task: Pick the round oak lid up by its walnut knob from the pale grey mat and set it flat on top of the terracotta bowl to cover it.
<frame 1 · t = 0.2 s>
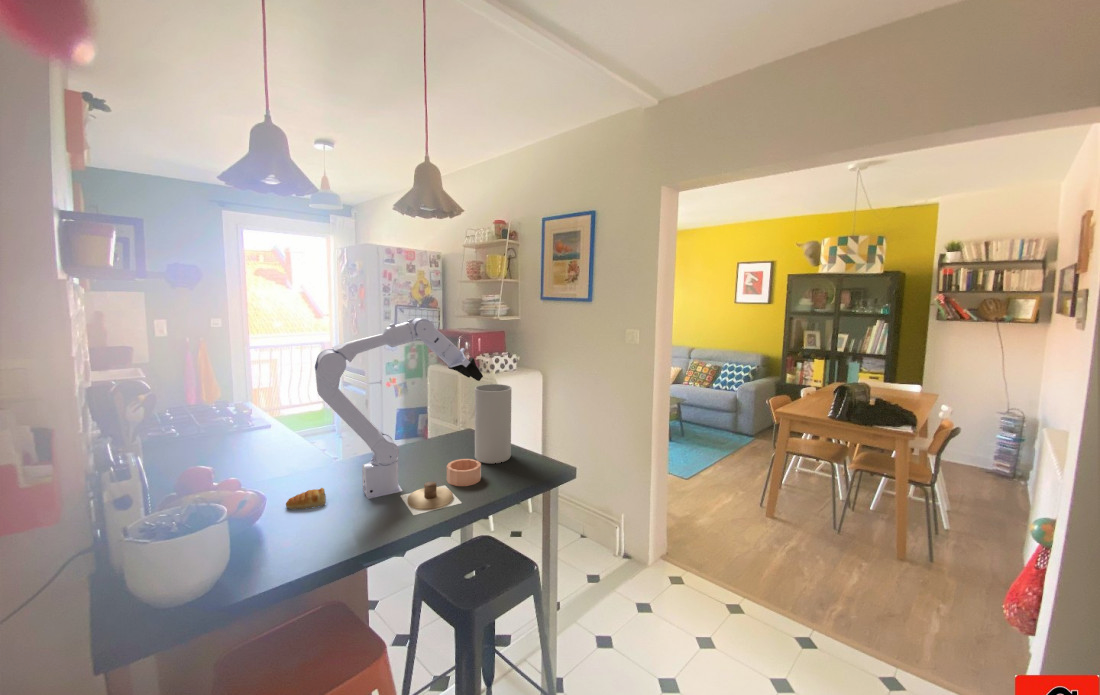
hand: (475, 376, 136), 31 cm above the kitchen counter, tool tilted 45°, fingers open, 7 cm apart
mat: (430, 501, 120), on the kitchen counter
pastry: (309, 505, 117), on the kitchen counter
cylinder vase: (492, 458, 153), on the kitchen counter
lid: (430, 499, 119), point 1 cm above the kitchen counter, touching mat
bowl: (464, 480, 133), on the kitchen counter
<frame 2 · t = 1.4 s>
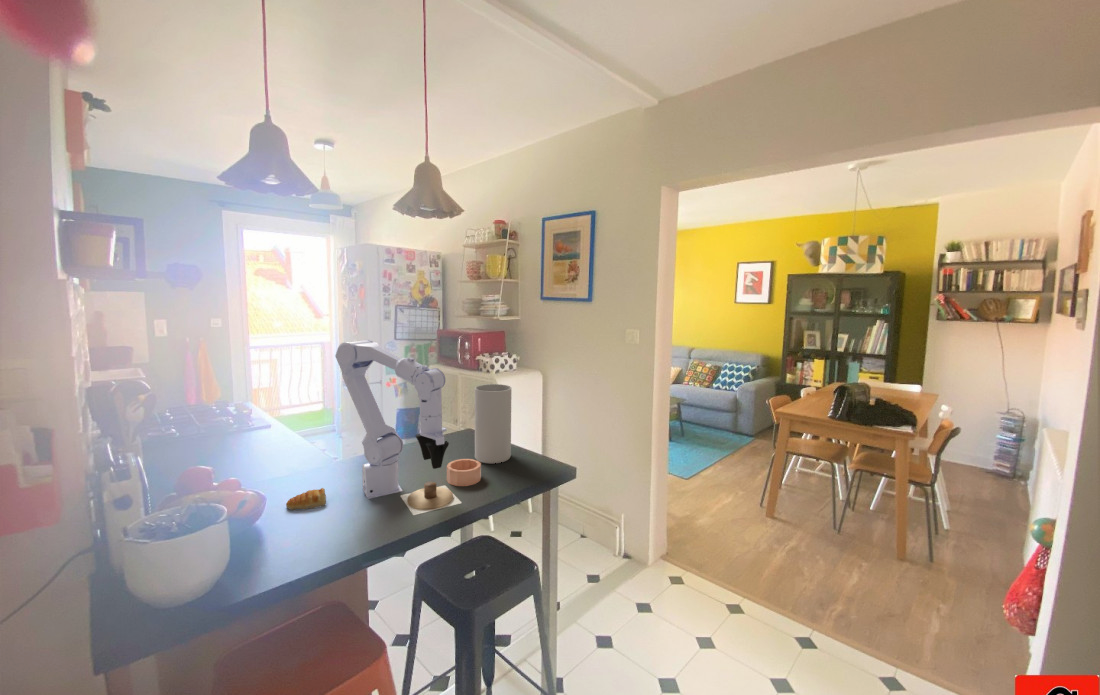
hand: (432, 463, 119), 11 cm above the kitchen counter, tool pointing down, fingers open, 7 cm apart
nothing on the kitchen counter moved.
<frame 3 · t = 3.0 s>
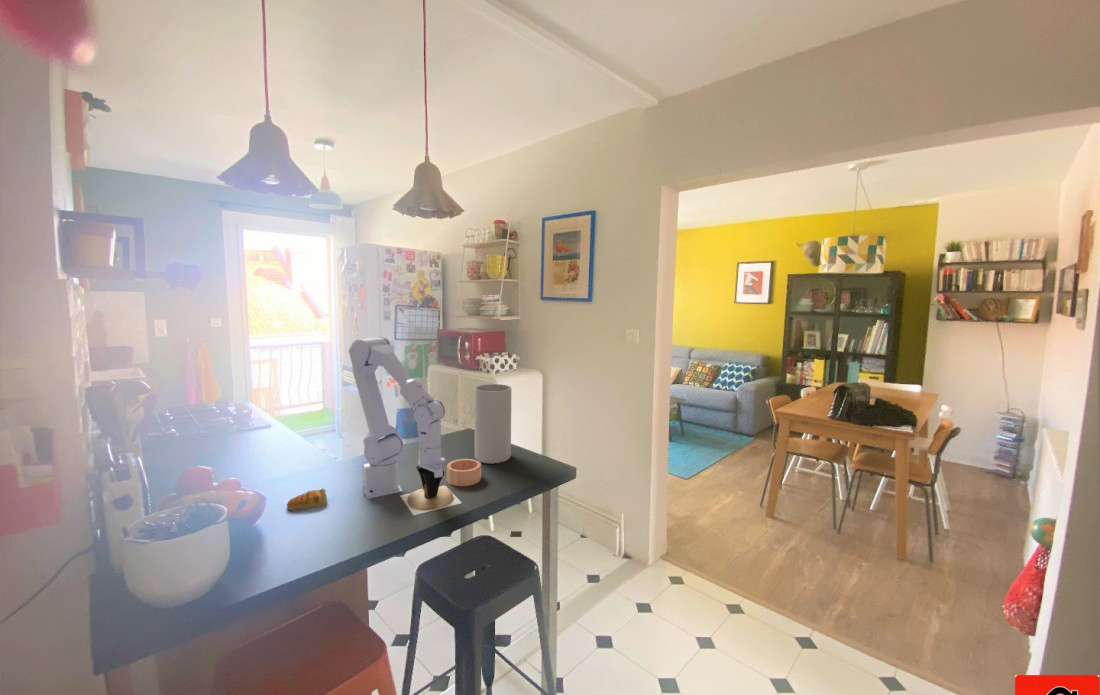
hand: (430, 493, 119), 2 cm above the kitchen counter, tool pointing down, fingers closed on lid, 3 cm apart
lid: (430, 499, 119), point 1 cm above the kitchen counter, touching gripper, mat
when the fingers open (8 cm above the kitchen counter, at t = 5.9 s): lid drops 1 cm, resting on bowl.
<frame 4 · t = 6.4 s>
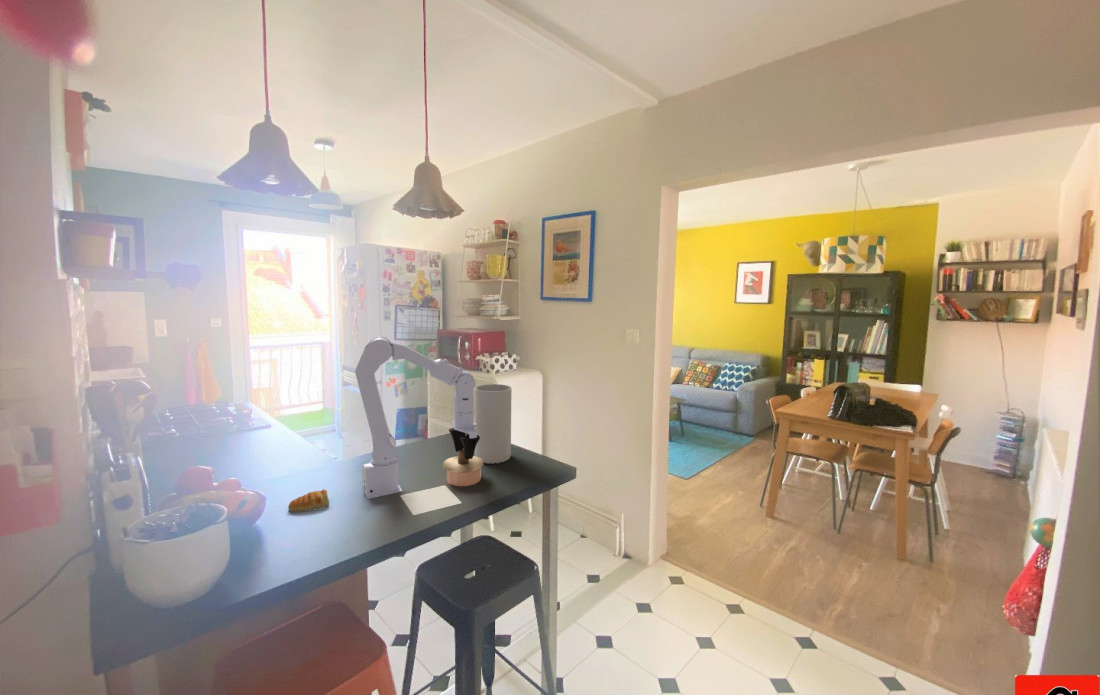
hand: (464, 454, 132), 8 cm above the kitchen counter, tool pointing down, fingers open, 7 cm apart
lid: (463, 465, 133), point 5 cm above the kitchen counter, touching bowl
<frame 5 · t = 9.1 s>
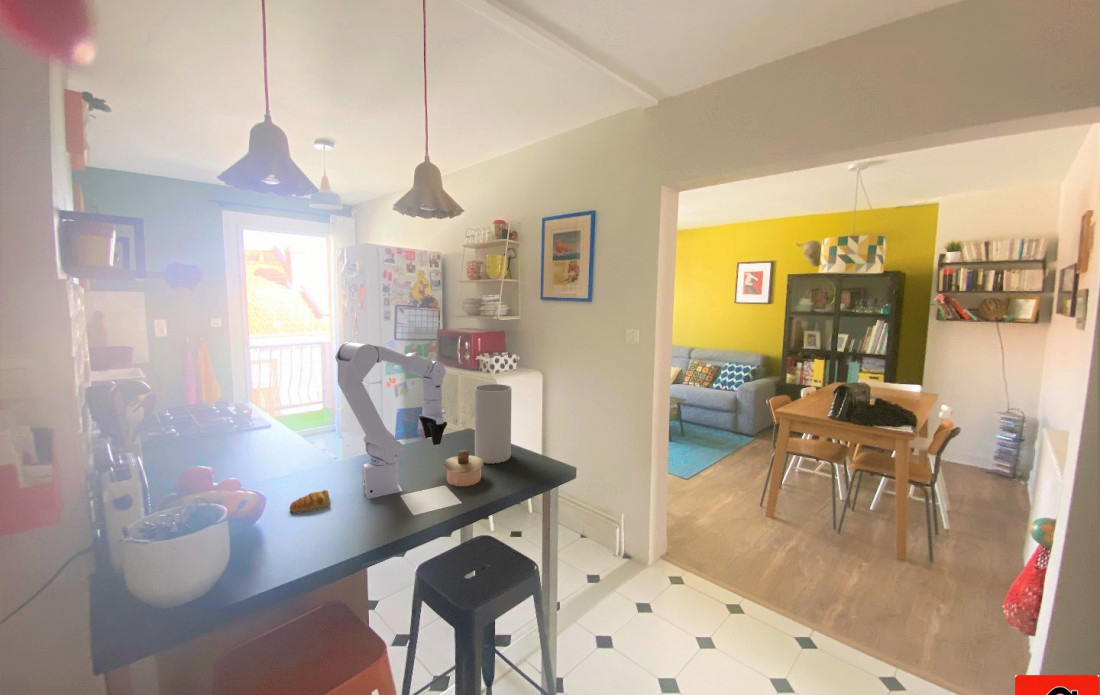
hand: (432, 440, 138), 10 cm above the kitchen counter, tool pointing down, fingers open, 7 cm apart
at the end: lid 0.2 cm off-centre on the bowl, point 5.0 cm above the bowl's base; lid tilted 0°; the gripper is holding nothing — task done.
